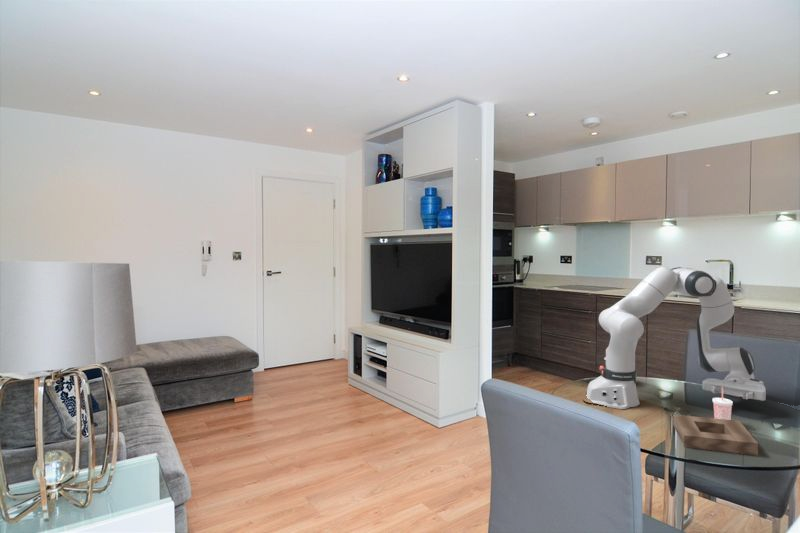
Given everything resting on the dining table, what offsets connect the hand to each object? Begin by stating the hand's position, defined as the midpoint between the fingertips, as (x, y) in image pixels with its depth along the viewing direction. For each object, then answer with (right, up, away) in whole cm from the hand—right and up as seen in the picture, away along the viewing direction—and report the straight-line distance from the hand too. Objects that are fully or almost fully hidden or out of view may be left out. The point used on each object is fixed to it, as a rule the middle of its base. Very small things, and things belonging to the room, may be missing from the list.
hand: (729, 394), depth 170 cm
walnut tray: (-20, -10, -19) cm, 29 cm away
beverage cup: (-9, -9, -8) cm, 15 cm away
